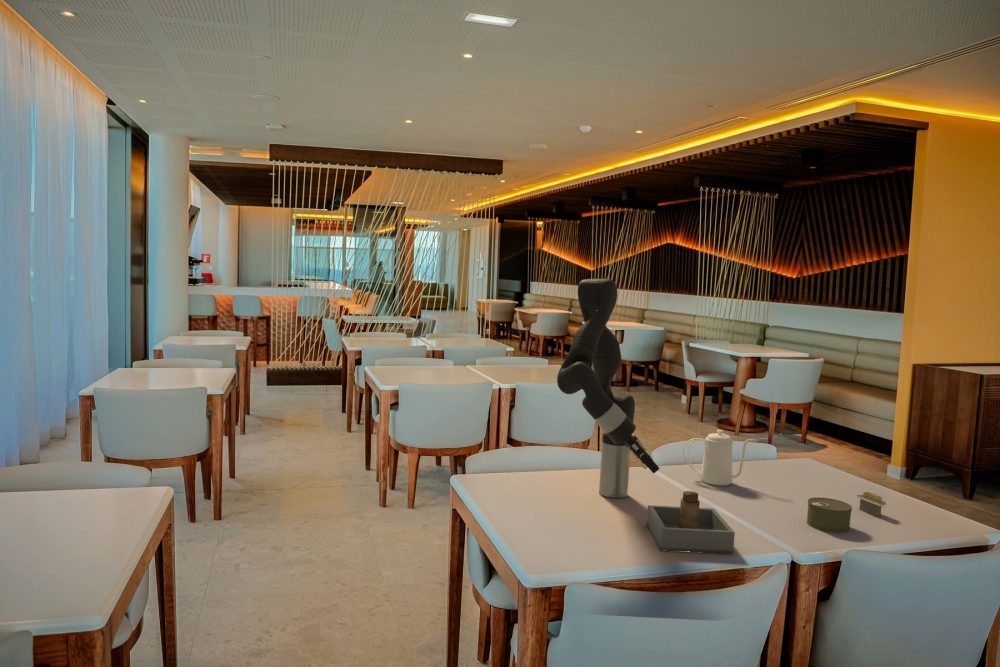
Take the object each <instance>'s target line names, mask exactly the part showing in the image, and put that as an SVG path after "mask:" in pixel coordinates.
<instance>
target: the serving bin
mask: <svg viewBox="0 0 1000 667" xmlns="http://www.w3.org/2000/svg"><path fill="white" fill-rule="evenodd" d="M646 515H647V516H646V527H647V529H648V531H649V533H650V535H651V536H652V539H653V540H654V542H655V543H657V544H656V546H657V545H658V546H657V548H658V549H659V551H660V550H666V551H665V552H669V551H690V552H702V553H701V554H710V553H713V555H715V554H716V555H730V554H733V555H734V544H735V533H736V532H735V531H734V529H733V528H732V527H731V526H730V525H729V524H728V522H726V521H725V519H724V518H723V517H722V516H721V515H720V514H719V512H717V510H716V509H715V508H711V507H710V508H709V507H699V518H698V529H687V528H679V518H680V506H669V505H650V504H649V505H647V513H646ZM690 552H689V553H690Z"/></svg>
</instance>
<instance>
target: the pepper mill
mask: <svg viewBox="0 0 1000 667" xmlns="http://www.w3.org/2000/svg"><path fill="white" fill-rule="evenodd" d="M679 507H680V518H679V528H687V529H698V518H699V508H700V500H699V493H698V492H696V491H693V490H691V491H690V490H685V491H683V492H682V498H680V506H679Z"/></svg>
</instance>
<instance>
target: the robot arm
mask: <svg viewBox="0 0 1000 667" xmlns="http://www.w3.org/2000/svg"><path fill="white" fill-rule="evenodd" d="M577 298H578V299H577V300H578V305H579V308H580V312H581V316H582V319H583V322H584V323H583V324H581V326H580V327H579V328H578V329H577V331H576V332H575V334H574V336H573V339H572V341H571V346H570V349H569V352H568V354H567V356H566V357H565V359H564V361H563V362H562V364H561V366H560V368H559V369H558V372H557V377H556V383H557V387H558V389H559V390H560V391H561V392H562V393H563V394H566V395H572V394H573V395H574V394H576V393H578V392H579V391H581V390H582V391H583V392H584V395H585V396H584V398H583V399H582V403H581V404H582V407H583V408H584V409H585V411H586V412H587V413H588V414H589V415H590V416H591V417H592V419H593V420H594V421H595V422H596V424H597V425H598V427H599V428H600V429H601V430H602V431H603V433H602V437H601V438H602V439H601V452H600V454H601V457H600V471H599V472H600V474H599V485H598V486H599V488H598V494H599V495H601V496H603V497H606V498H610V499H611V498H613V499H623V498H625V497H628V493H629V492H628V490H629V478H630V477H629V474H630V460H631V458H630V457H631V453H632V455H633V456H634V457H635V458H636V459H639V460H640V461H641V464H643V465H645V466H646V467H647V468H648V469H649V470H650V471H651V473H652V474H655V473H657V472H658V471H659V470H660V467H659V465H657V463H656V462H655V461H654V460H653V457H651V455H650V454H648V452H647V451H648V450H647V449H646V447H645V446H644V445H643V443H642V441H641V440H640V439H639V438H638V437H637V435H633V434H634V433H635V431H636V428H637V427H636V425H635V423H634V420H635V419H634V418H635V411H636V410H635V407H636V403H635V399H634V397H633V396H632V395H630V394H625V393H616V392H613V391H612V388H611V383H612V381H613V379H614V378H615V376H616V374H617V373H618V371H619V369H620V367H621V365H622V353H621V347H620V343H619V340H618V338H617V337H616V335H615V334H614V333H613V332H612V331H611V330H610V329H609V328H608V327H607V324H608V322H609V319H610V317H611V316H612V313H613V311H614V309H615V306H616V304H617V300H618V287H617V284H616V281H614V280H613V279H611V278H587V279H582V280H580V281H579V283H578V285H577ZM591 364H592V367H591V366H590V365H591Z"/></svg>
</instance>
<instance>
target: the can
mask: <svg viewBox="0 0 1000 667" xmlns="http://www.w3.org/2000/svg"><path fill="white" fill-rule="evenodd" d="M852 510H853V507H852V505H851V504H849V503H847V502H845V501H841V500H838V499H834V498H829V497H811V498H809V499H807V515H806V516H807V518H806V524H807V525H808V526H809V527H811V528H813V529H815V530H818V531H821V532H825V533H831V532H833V533H832V534H845V533H847V531H848V532H849V531H850V525H851V515H852ZM844 532H845V533H844Z"/></svg>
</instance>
